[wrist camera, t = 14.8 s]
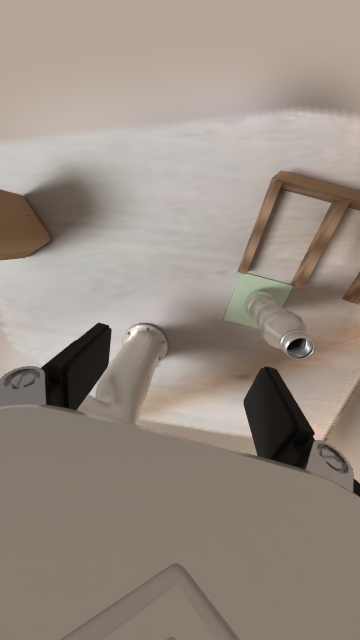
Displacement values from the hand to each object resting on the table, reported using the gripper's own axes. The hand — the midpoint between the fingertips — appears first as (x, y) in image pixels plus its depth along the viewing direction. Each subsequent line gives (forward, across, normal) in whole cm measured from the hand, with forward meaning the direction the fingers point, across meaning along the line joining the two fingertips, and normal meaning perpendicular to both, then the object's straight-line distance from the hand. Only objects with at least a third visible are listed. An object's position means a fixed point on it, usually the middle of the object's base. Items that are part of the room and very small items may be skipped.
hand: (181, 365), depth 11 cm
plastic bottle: (+33, -16, +3) cm, 37 cm away
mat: (+33, -16, +3) cm, 37 cm away
